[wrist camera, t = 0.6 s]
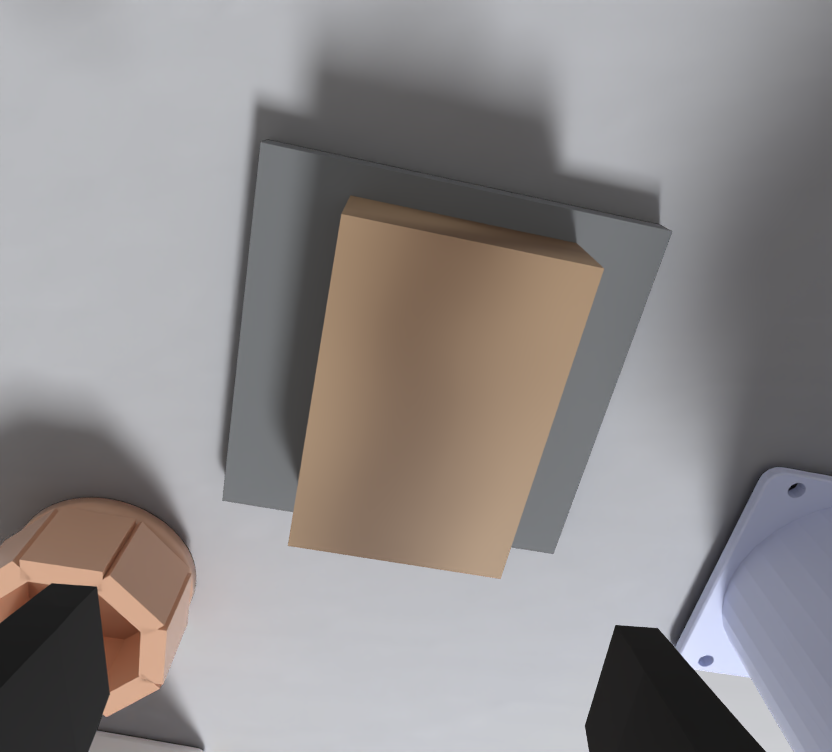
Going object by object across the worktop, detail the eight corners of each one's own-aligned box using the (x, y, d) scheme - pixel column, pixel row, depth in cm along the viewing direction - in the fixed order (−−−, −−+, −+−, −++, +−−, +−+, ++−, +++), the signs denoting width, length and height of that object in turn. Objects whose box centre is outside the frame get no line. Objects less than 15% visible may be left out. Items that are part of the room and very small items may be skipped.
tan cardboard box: (576, 243, 16) (604, 268, 14) (489, 522, 19) (500, 578, 17) (350, 195, 15) (341, 213, 13) (301, 491, 19) (288, 545, 17)
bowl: (202, 513, 20) (170, 581, 17) (190, 646, 22) (160, 725, 19) (12, 483, 19) (-52, 549, 17) (20, 623, 22) (-37, 701, 19)
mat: (660, 224, 17) (672, 231, 16) (547, 537, 21) (553, 554, 20) (267, 139, 16) (260, 142, 15) (229, 485, 20) (222, 500, 19)
